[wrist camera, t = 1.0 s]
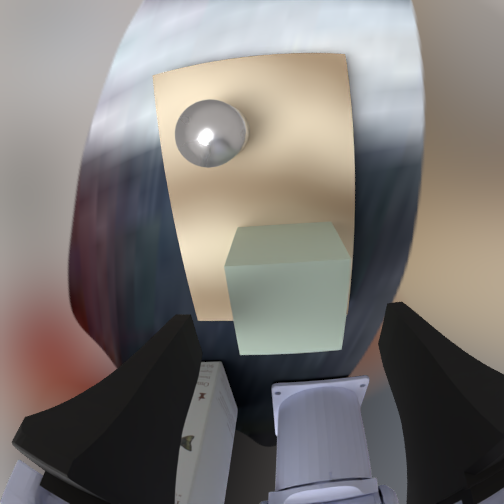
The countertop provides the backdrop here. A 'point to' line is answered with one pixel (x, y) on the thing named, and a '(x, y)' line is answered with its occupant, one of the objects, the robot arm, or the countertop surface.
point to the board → (259, 159)
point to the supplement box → (207, 439)
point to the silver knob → (211, 133)
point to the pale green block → (288, 288)
